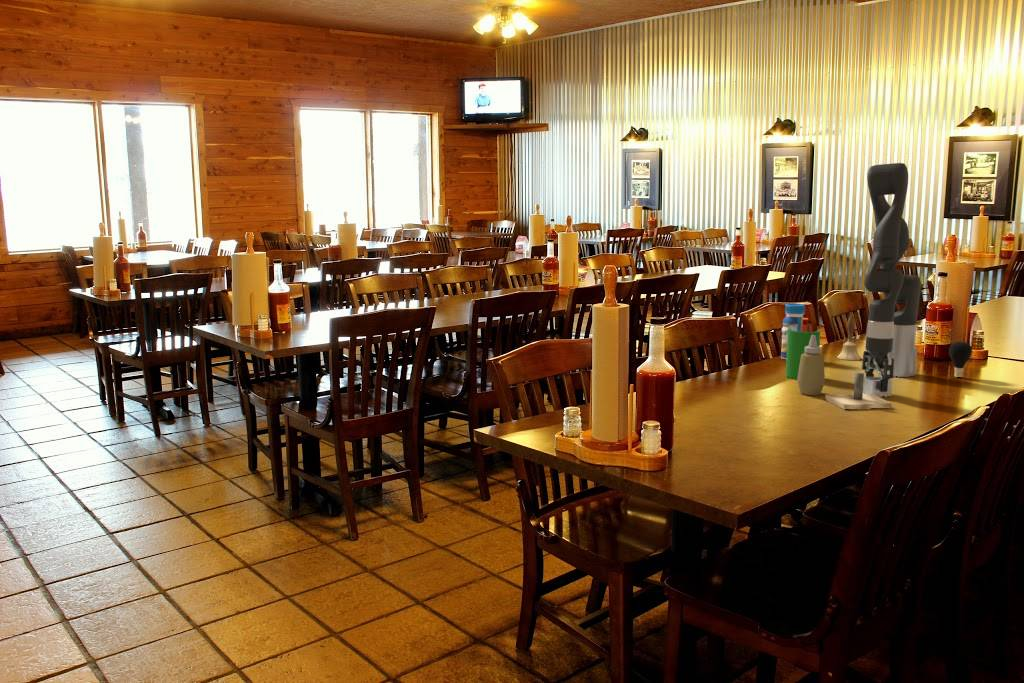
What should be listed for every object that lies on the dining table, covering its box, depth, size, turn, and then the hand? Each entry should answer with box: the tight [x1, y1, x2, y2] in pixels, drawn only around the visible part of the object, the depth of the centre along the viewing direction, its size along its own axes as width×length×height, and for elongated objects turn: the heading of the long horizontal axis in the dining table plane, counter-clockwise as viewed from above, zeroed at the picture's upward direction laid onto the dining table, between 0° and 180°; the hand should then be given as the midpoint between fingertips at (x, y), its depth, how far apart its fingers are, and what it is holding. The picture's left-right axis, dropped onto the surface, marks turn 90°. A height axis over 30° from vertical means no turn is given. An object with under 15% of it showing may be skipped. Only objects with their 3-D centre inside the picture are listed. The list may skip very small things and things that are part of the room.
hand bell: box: [836, 314, 862, 361], centre depth 321 cm, size 8×8×16 cm
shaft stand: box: [824, 372, 893, 410], centre depth 256 cm, size 14×12×9 cm
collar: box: [863, 375, 893, 398], centre depth 267 cm, size 6×6×5 cm
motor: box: [785, 317, 821, 380], centre depth 290 cm, size 10×9×20 cm
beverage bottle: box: [780, 302, 806, 360], centre depth 319 cm, size 8×8×20 cm
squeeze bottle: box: [796, 335, 826, 396], centre depth 268 cm, size 8×8×18 cm
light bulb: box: [948, 340, 973, 378], centre depth 289 cm, size 7×7×12 cm
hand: (876, 388), depth 267 cm, fingers open, 8 cm apart
